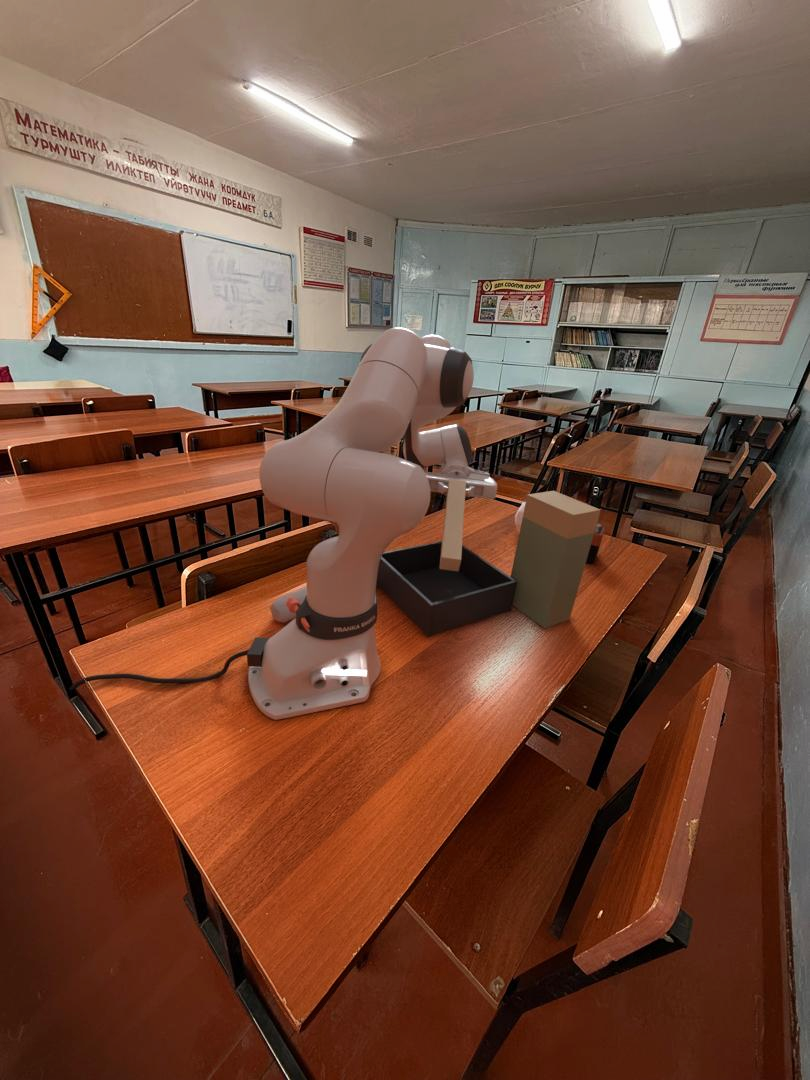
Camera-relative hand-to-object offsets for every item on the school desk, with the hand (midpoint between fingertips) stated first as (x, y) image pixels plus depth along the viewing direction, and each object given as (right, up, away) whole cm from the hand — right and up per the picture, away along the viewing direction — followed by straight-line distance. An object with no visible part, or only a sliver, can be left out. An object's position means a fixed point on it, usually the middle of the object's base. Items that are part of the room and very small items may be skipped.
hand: (456, 492), depth 103 cm
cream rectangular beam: (-1, -9, -4) cm, 10 cm away
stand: (+18, -27, -4) cm, 33 cm away
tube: (-30, -25, -7) cm, 39 cm away
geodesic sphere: (+28, -12, +31) cm, 43 cm away
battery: (+40, -17, +23) cm, 49 cm away
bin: (-4, -24, -1) cm, 24 cm away
